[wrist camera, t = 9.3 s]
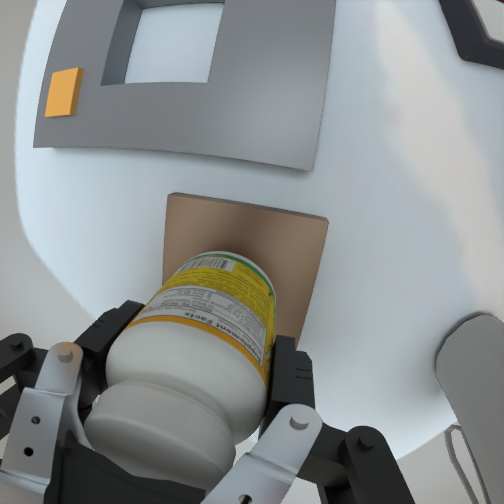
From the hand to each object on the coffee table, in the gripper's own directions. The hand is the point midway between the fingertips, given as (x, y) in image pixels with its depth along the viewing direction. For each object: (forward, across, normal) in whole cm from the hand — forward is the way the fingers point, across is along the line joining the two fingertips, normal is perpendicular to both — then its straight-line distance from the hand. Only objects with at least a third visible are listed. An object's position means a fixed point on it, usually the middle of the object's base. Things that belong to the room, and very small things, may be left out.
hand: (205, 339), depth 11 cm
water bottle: (+7, -19, +4) cm, 21 cm away
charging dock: (+7, +6, -14) cm, 17 cm away
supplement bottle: (+4, 0, 0) cm, 4 cm away
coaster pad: (+7, 0, 0) cm, 7 cm away
